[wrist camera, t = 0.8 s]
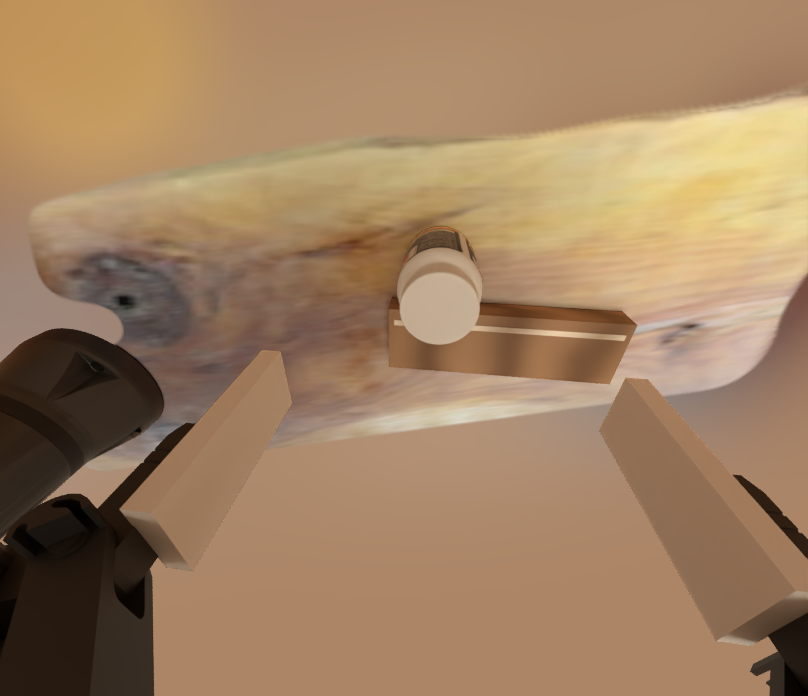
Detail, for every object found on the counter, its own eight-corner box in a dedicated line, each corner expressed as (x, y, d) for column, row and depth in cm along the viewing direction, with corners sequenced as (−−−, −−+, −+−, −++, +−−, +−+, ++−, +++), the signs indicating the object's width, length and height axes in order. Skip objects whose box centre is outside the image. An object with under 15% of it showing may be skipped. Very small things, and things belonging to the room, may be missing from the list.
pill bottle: (395, 274, 28) (374, 329, 19) (425, 211, 25) (416, 243, 16) (452, 302, 29) (455, 366, 20) (488, 245, 26) (509, 291, 17)
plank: (392, 352, 32) (388, 367, 30) (392, 297, 29) (388, 309, 27) (597, 367, 30) (609, 384, 28) (622, 311, 27) (637, 325, 25)
